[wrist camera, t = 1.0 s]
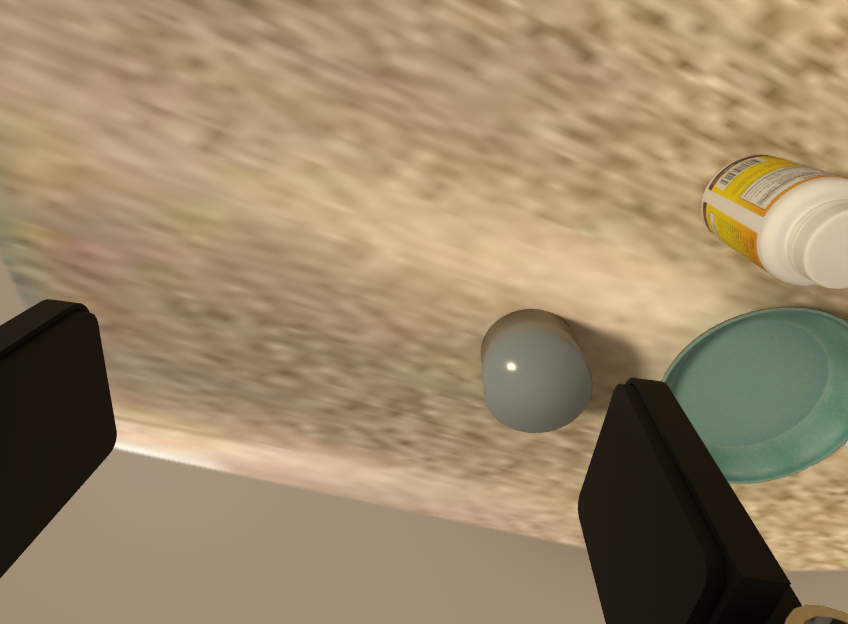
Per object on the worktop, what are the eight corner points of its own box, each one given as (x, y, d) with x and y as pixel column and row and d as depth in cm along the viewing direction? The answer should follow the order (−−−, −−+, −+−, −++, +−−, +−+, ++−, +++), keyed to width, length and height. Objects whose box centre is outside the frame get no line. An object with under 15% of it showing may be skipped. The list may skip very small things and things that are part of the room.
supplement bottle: (763, 248, 35) (872, 317, 26) (682, 229, 35) (763, 291, 26) (809, 163, 33) (947, 206, 23) (722, 142, 32) (827, 176, 23)
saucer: (747, 488, 44) (764, 512, 41) (601, 408, 41) (610, 429, 39) (901, 355, 38) (930, 375, 36) (741, 253, 35) (761, 267, 33)
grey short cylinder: (541, 290, 37) (552, 322, 33) (595, 359, 39) (613, 398, 35) (461, 344, 39) (462, 381, 35) (517, 406, 42) (524, 449, 37)
